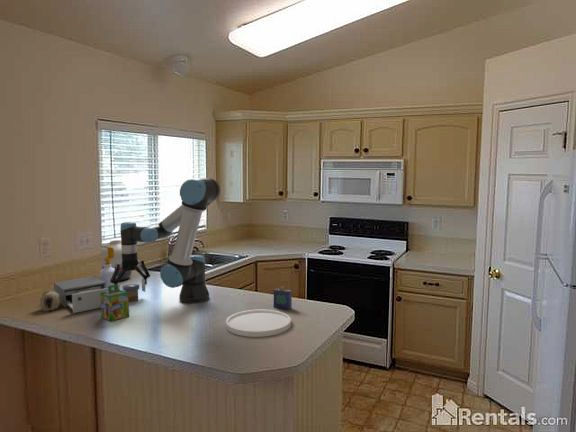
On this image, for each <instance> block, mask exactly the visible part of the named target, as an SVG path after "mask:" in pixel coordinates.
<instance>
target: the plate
mask: <svg viewBox="0 0 576 432" xmlns="http://www.w3.org/2000/svg"><path fill="white" fill-rule="evenodd" d="M291 326H292V318H291V316H289V315H288V314H287V313H285V312H283V311H278V310H274V309H260V308H259V309H249V310H243V311H238V312H236V313H233V314H232V315H229V316H228V317H227V318H226V320H225V328H226V329H227V331H229V332H230V333H231V334H235V335H238V336H242V337H251V338H255V337H257V338H258V337H268V336H274V335H279V334H281V333H283V332H286V331H288V329H290V328H291Z"/></svg>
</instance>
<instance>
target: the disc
mask: <svg viewBox="0 0 576 432" xmlns="http://www.w3.org/2000/svg"><path fill="white" fill-rule="evenodd" d="M135 290H138V291H139V290H140V284H138V283H129V284H124V285H123V286H122V291H135Z"/></svg>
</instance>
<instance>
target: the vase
mask: <svg viewBox="0 0 576 432" xmlns="http://www.w3.org/2000/svg"><path fill="white" fill-rule="evenodd" d="M105 247H111V248H113V249H114V258H113V259H110V261H109V263H111V267H112V268H114V269H115V267H116V263H118V264H121V263H122V250H121V239H120V240H119V239H118V240H117V239H116V240H115V239H114V240H110V242H109V244H108V245H106V246H105ZM100 255H101V257H100V258H101V270H102V269H103V268H105V263H106V261H105V260H103V259H102V258H106V257H108V249H107V248H104V247H103V249H102V252H101V254H100ZM122 268H123V267H122V266H121V267H120V269H119V272H118V274H117V276H118V275H119V273H120V272H121V270H122ZM132 271H133V270H131V271H126V272H125V273H124V275H123V276H122V278H121V279H120V281H119V282H121V281H122V282H123V281H125V280H128V279H129V278H130V277H131V275H132V274H133V273H132Z"/></svg>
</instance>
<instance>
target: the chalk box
mask: <svg viewBox="0 0 576 432" xmlns="http://www.w3.org/2000/svg"><path fill="white" fill-rule="evenodd" d="M113 287H115V288H116V290H111V288H113ZM108 290H109V291H107V292H103V293H100V296H101V308H100V313H101V318H102V319H105V320H108V321H109V322H114V321H117V320H120V319H121V320H122V319H125V318H128V317H130V306H129V305H130V302H129V300H128V292H125V291H123V289H120V290H118V285H117V284H115V285H111V286H108Z"/></svg>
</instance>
